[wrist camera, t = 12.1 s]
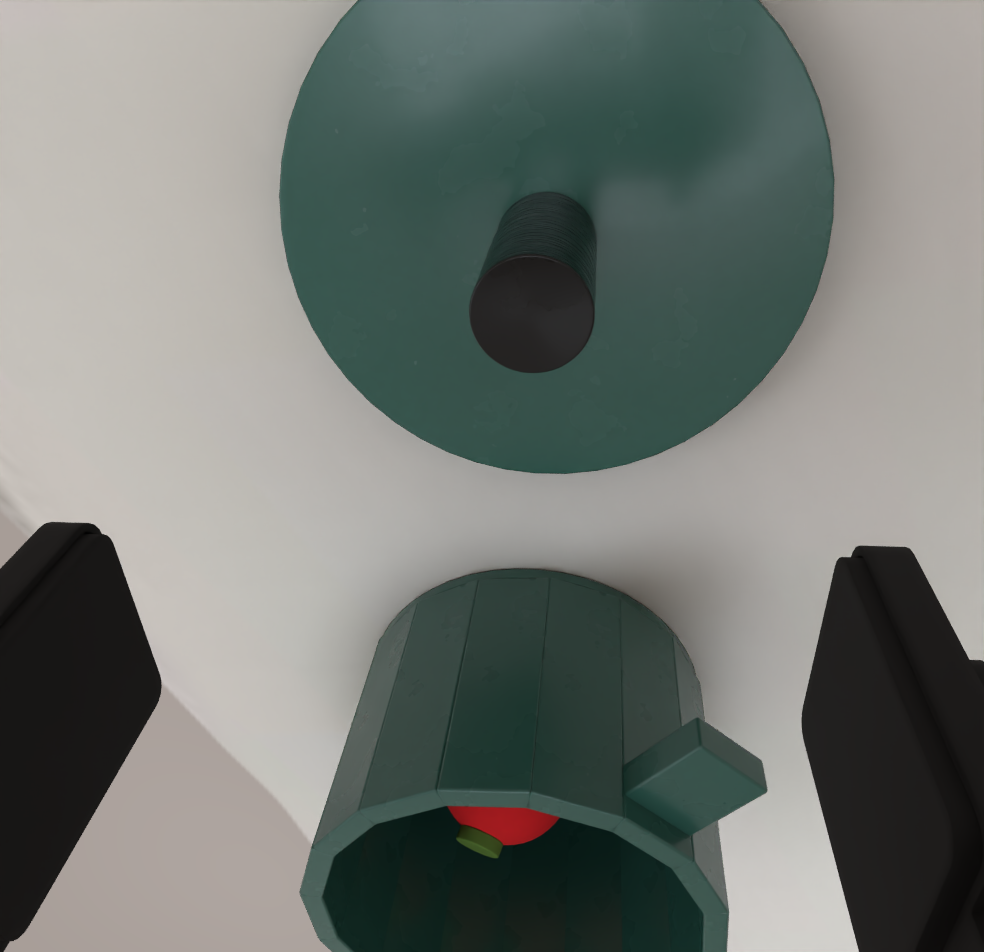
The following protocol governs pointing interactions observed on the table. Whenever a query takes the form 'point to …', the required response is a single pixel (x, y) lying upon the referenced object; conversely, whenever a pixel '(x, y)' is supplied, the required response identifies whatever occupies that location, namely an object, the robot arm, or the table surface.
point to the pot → (529, 780)
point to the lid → (556, 218)
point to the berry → (498, 827)
